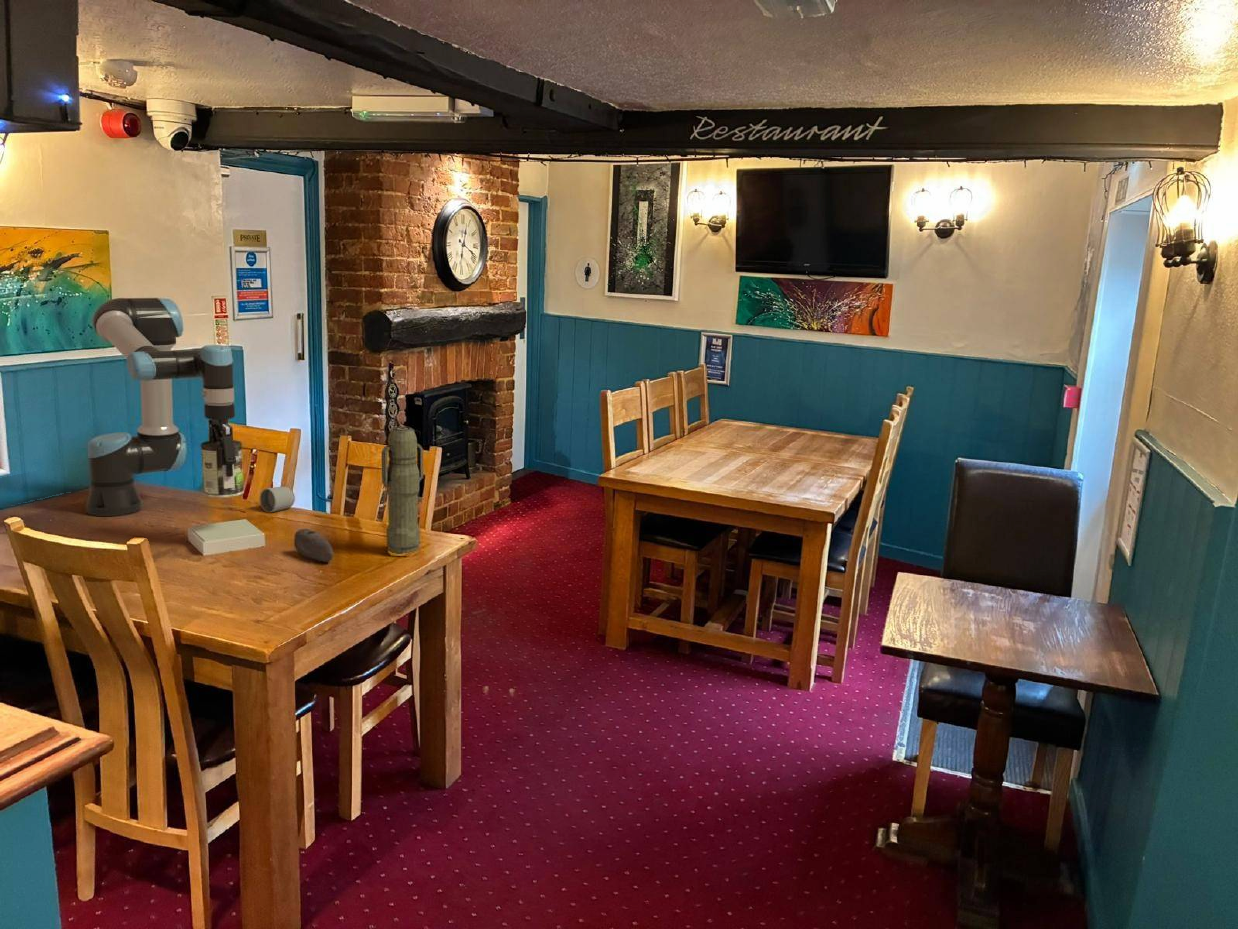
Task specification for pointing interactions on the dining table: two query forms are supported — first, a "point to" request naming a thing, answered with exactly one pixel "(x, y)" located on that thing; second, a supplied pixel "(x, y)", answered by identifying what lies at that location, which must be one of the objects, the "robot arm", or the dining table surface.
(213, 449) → the coffee can
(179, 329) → the robot arm
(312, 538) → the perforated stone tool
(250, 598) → the dining table surface
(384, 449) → the thermos
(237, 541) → the plinth
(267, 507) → the grey cylinder
